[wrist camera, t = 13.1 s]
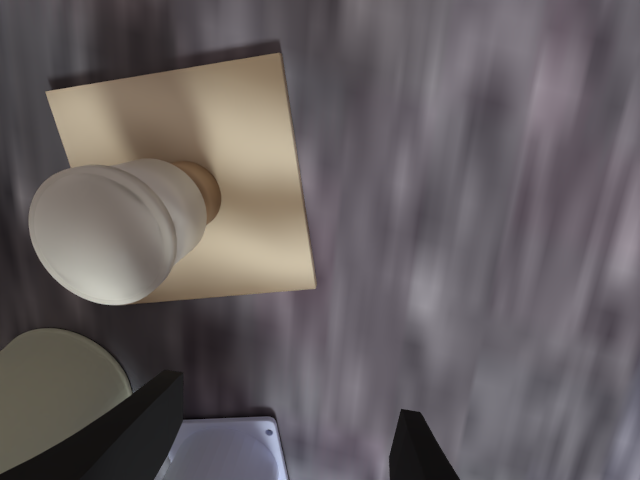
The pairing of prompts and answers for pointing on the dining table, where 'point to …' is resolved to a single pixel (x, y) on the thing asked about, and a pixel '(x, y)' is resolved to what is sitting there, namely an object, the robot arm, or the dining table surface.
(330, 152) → the dining table surface
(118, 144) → the square wooden board
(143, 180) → the cap
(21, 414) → the can
